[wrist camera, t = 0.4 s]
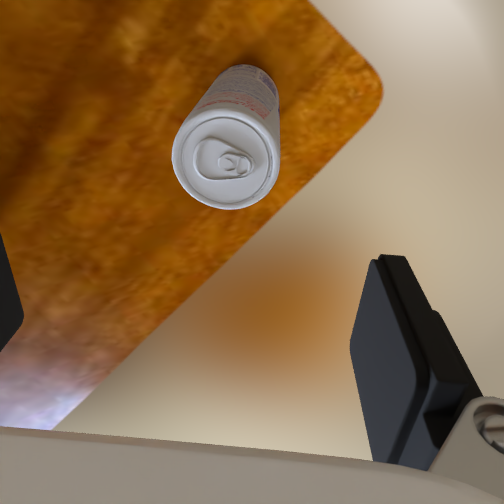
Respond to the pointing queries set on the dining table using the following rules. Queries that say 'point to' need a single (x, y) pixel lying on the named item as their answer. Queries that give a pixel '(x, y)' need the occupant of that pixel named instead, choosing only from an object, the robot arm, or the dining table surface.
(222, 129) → the beverage can
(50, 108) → the dining table surface
